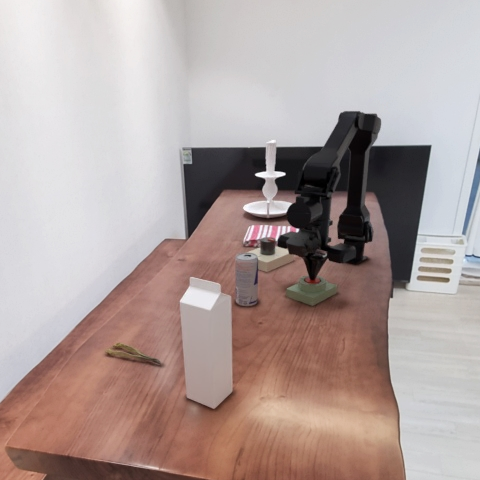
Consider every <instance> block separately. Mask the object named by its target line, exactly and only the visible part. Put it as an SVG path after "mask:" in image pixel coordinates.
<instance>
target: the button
mask: <svg viewBox="0 0 480 480" xmlns="http://www.w3.org/2000/svg"><path fill="white" fill-rule="evenodd" d="M305 282H306V283H310V284H316V283H320V279H319V278H316V279H315V280H310V278H309V277H308V278H306V279H305Z"/></svg>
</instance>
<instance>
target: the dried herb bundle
mask: <svg viewBox="0 0 480 480" xmlns="http://www.w3.org/2000/svg"><path fill="white" fill-rule="evenodd" d="M112 347H113V348H114V349H118V348H120V349H124V350H127V351H128V352H129V353H128V352H125V351H118V350H117V351H116V350H111V349H110V348H107V350H105V353H107V354H108V355H113V356H118V357H122V358H131V359H136V360H141V361H146V362H151V363H155V364H158V365H159V366H161V367H162V361H160V360H159V359H157V358H155V357H151V356H150V355H149V356H148V355H146V354H145V353H143V352H142V351H140V350H139V349H137V348H136V347H133V346H132V345H128V344H126V343H122V342H116V343H115V344H112ZM130 353H134V354H130Z"/></svg>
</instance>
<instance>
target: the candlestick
mask: <svg viewBox="0 0 480 480" xmlns="http://www.w3.org/2000/svg"><path fill="white" fill-rule="evenodd" d="M276 154H277V140H276V139H269V141H266V142H265V165H266V166H265V169H266V170H265V171H261V172H256V173H254V176H256V177H257V178H261V179H263V180H265V183H264V184H263V186H262V189H261V190H262V194H263V196H264V197H265V199H266V200H257V201H253V202H249V203H246V204H244V206H243V207H242V210H243V211H245V212H246V213H249V214H250V215H252V216H254V217H259V218H264V219H265V218H266V219H270V218H272V219H273V218H279V217H283V216H286V212H287V210H288V208H289V206H290V205H291V204H293V203H292V202H289V201H284V200H273V199H274V197H275V196H276V195H277V193H278V185H277V184H276V179H278V178H281V177H284V176H286V172H283V171H275V170H276V169H275V167H276V163H277V162H276V158H277V157H276Z"/></svg>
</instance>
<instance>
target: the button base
mask: <svg viewBox="0 0 480 480" xmlns="http://www.w3.org/2000/svg"><path fill="white" fill-rule="evenodd" d="M308 277H309V275H308V274H307V275H302V276H301V277H299V279H298V283H295V284H293V285H291V286H289V287H287V288H286V292H285V297H286V298H290V299H291V300H295V301H298V302H300V303H303V304H306V305H309V306H312V307H313V306H315V305H317V304H319V303H321V302H323V301H325V300H326V299H328V298H330V297H332V296H334V295H337V293H338V285H337V284H334V283H332V282H328V281H327V279H326V278H324V277H323V276H320V275H317V277H316V278H319V279H320V283H316V284H310V283H306V282H305V279H306V278H308Z"/></svg>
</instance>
